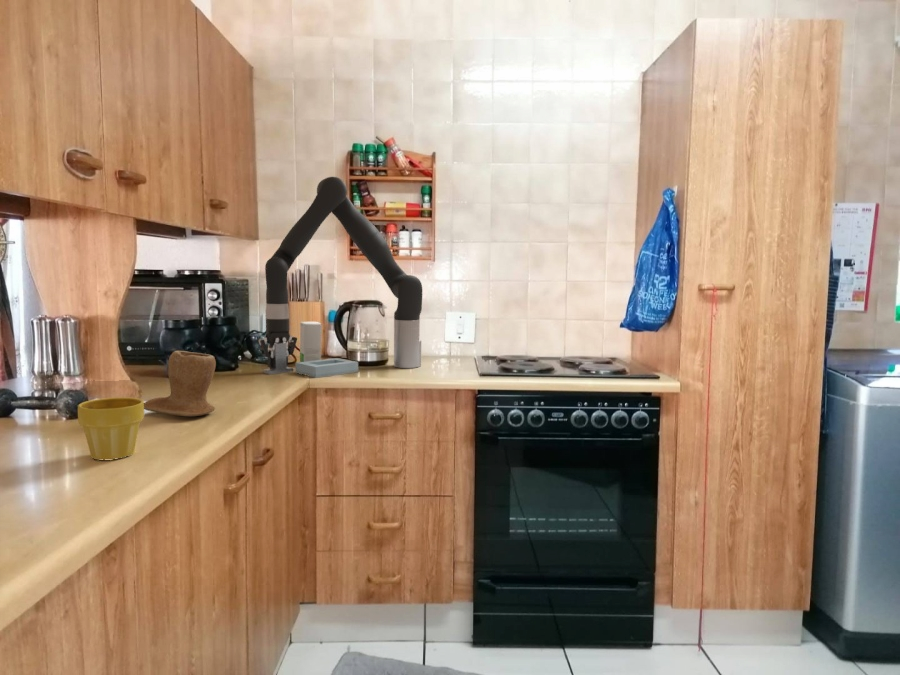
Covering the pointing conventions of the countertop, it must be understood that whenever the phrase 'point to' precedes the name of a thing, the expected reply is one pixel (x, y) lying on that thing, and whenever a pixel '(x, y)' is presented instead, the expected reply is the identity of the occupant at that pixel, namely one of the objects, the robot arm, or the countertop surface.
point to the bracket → (279, 360)
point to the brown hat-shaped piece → (186, 385)
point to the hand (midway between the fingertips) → (278, 367)
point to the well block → (326, 367)
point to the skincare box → (310, 341)
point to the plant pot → (111, 425)
